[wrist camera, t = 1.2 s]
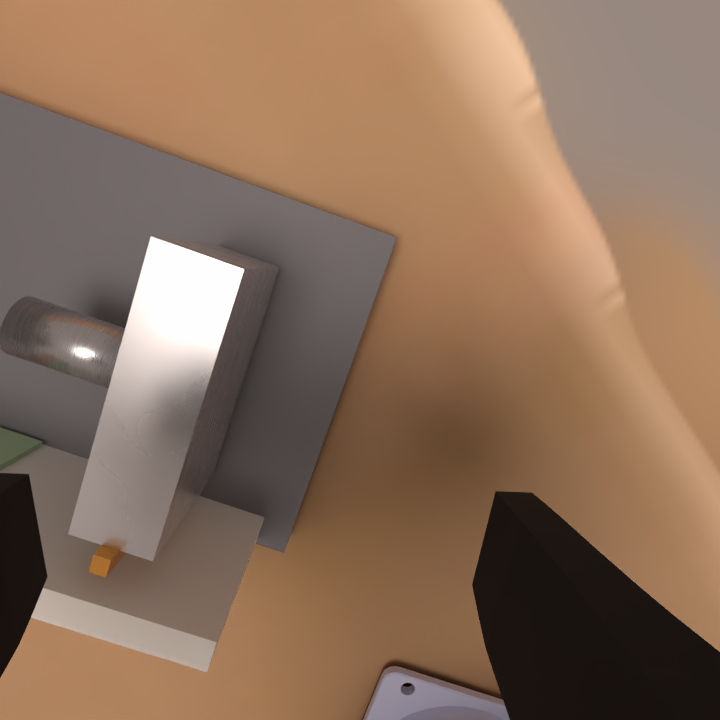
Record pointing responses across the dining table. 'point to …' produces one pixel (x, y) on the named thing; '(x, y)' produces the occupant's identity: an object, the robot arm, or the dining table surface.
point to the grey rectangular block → (153, 386)
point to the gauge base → (112, 304)
